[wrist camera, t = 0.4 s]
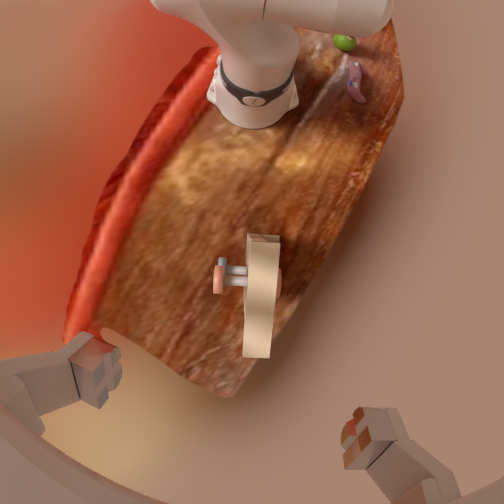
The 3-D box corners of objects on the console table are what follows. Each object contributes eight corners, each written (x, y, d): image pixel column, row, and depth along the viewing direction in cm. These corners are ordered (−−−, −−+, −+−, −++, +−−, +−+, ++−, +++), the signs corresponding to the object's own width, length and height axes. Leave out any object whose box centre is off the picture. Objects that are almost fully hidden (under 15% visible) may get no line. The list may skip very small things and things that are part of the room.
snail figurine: (350, 39, 48) (368, 13, 36) (352, 57, 49) (372, 31, 37) (330, 33, 48) (345, 6, 36) (331, 51, 48) (348, 24, 36)
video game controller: (348, 70, 51) (344, 54, 44) (366, 72, 49) (365, 56, 42) (346, 103, 52) (342, 88, 45) (365, 106, 50) (364, 90, 44)
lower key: (220, 254, 48) (218, 258, 44) (271, 257, 49) (274, 261, 44) (218, 278, 49) (217, 284, 44) (269, 281, 49) (272, 288, 45)
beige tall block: (245, 230, 53) (251, 241, 28) (278, 232, 53) (313, 246, 28) (240, 295, 54) (242, 357, 29) (272, 297, 54) (299, 358, 29)
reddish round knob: (216, 261, 40) (214, 266, 36) (277, 265, 41) (282, 271, 36) (215, 290, 41) (212, 298, 36) (275, 294, 41) (279, 302, 37)
